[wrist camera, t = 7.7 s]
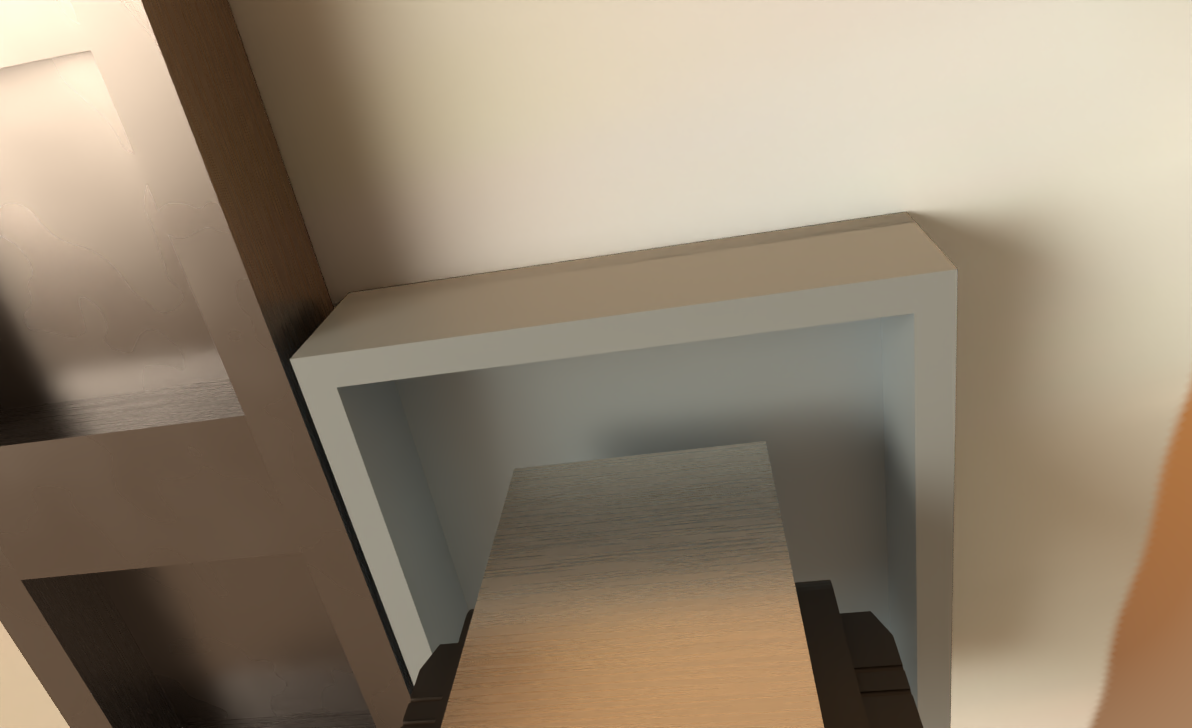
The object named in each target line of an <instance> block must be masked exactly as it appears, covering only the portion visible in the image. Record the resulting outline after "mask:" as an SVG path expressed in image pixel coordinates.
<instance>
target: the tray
mask: <svg viewBox="0 0 1192 728" xmlns="http://www.w3.org/2000/svg"><path fill="white" fill-rule="evenodd" d="M957 281H958V269H957V268H956V267H955V266H954V265H953V263H952V262H951V261H950V260H949V259H948V258H947V257H946V256H945V254H944V253H943V252H942V251H941V250H940V249H939V248H938V247H937V246H936V244H935V243H934V242H933V241H932V240H931V239H930V238H929V237H928V235H927V234H926V233H925V232H924V231H923V230H922V229H921V228H920V227H919V225H918V224H917V223H916V222H915V221H914V220H913V219H912V218H911V216H910V215H909V214H908V213H907V212H901V213H895V214H888V215H881V216H874V217H867V218H860V219H853V220H846V221H840V222H833V223H826V224H819V225H812V226H805V227H798V228H792V229H785V230H778V231H771V232H764V233H757V234H750V235H743V236H737V237H730V238H723V239H716V240H709V241H702V242H695V243H689V244H682V245H675V246H668V247H661V248H654V249H647V250H640V251H634V252H627V253H620V254H613V255H606V256H599V257H592V258H586V259H579V260H572V261H565V262H558V263H551V264H544V265H537V266H531V267H524V268H517V269H510V270H503V271H496V272H489V273H482V274H476V275H469V276H462V277H455V278H448V279H441V280H434V281H428V282H421V283H414V284H407V285H400V286H393V287H386V288H379V289H373V290H366V291H359V292H352V293H348V294H347V296H346V297H345V298H344V299H343V300H342V301H341V302H340V303H339V305H338V306H337V307H336V308H335V309H334V310H333V311H332V312H331V313H330V315H329V316H328V317H327V318H326V319H325V320H324V321H323V322H322V324H321V325H320V326H319V327H318V328H317V329H316V330H315V331H314V333H313V334H312V335H311V336H310V337H309V338H308V339H307V340H306V341H305V343H304V344H303V345H302V346H301V347H300V348H299V349H298V350H297V352H296V353H295V354H294V355H293V356H292V357H291V358H290V362H291V364H292V367H293V370H294V372H295V375H296V377H297V380H298V383H299V385H300V388H301V391H302V393H303V396H304V398H305V401H306V404H307V406H308V409H309V412H310V414H311V417H312V419H313V422H314V425H315V427H316V430H317V433H318V435H319V438H320V440H321V443H322V446H323V448H324V451H325V454H326V456H327V459H328V461H329V464H330V467H331V469H332V472H333V475H334V477H335V480H336V482H337V485H338V488H339V490H340V493H341V496H342V498H343V501H344V503H345V506H346V509H347V511H348V514H349V517H350V519H351V522H352V524H353V527H354V530H355V532H356V535H357V538H358V540H359V543H360V545H361V548H362V551H363V553H364V556H365V559H366V561H367V564H368V566H369V569H370V572H371V574H372V577H373V580H374V582H375V585H376V587H377V590H378V593H379V595H380V598H381V601H382V603H383V606H384V608H385V611H386V614H387V616H388V619H389V622H390V624H391V627H392V629H393V632H394V635H395V637H396V640H397V643H398V645H399V648H400V650H401V653H402V656H403V658H404V661H405V664H406V666H407V669H408V671H409V674H410V677H411V679H412V682H413V685H415V682H416V679H417V676H418V673H419V670H420V669H421V668H422V666H423V665H424V664H425V662H426V661H427V660H428V659H429V657H430V656H431V655H432V654H433V652H434V651H435V650H436V649H437V647H438V646H439V645H440V644H450V643H458V642H459V638H460V635H461V631H462V628H463V625H464V621H465V618H466V615H467V613H468V611H469V610H471V609H474V608H475V605H476V601H477V598H478V594H479V591H480V587H481V584H482V580H483V577H484V573H485V570H486V566H487V563H488V559H489V556H490V552H491V549H492V545H493V542H494V538H495V534H496V531H497V527H498V524H499V520H500V517H501V513H502V510H503V506H504V503H505V499H506V496H507V492H508V489H509V485H510V482H511V478H512V475H513V471H514V469H515V468H524V467H533V466H542V465H551V464H560V463H569V462H579V461H588V460H597V459H606V458H615V457H624V456H633V455H642V454H651V453H660V452H670V451H679V450H688V449H697V448H706V447H715V446H724V445H733V444H742V443H751V442H761V441H766V445H767V450H768V455H769V460H770V465H771V469H772V474H773V479H774V484H775V489H776V494H777V499H778V504H779V509H780V514H781V519H782V523H783V528H784V533H785V538H786V543H787V548H788V553H789V558H790V563H791V568H792V572H793V577H794V582H807V581H819V580H831V583H832V586H833V589H834V593H835V597H836V601H837V605H838V608H839V612H840V613H852V612H865V611H871V612H872V613H873V614H874V615H875V616H876V617H877V618H878V620H879V621H880V622H881V623H882V624H883V625H884V626H885V627H886V628H887V629H888V630H889V631H890V633H891V634H892V635H893V637H894V640H895V643H896V646H897V649H898V652H899V655H900V658H901V661H902V664H903V669H904V670H905V673H906V676H907V679H908V682H909V685H910V688H911V694H912V695H913V697H914V700H915V703H916V706H917V710H918V713H919V716H920V719H921V722H922V725H923V728H950V721H951V658H952V595H953V532H954V469H955V406H956V344H957Z"/></svg>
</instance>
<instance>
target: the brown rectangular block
mask: <svg viewBox="0 0 1192 728" xmlns="http://www.w3.org/2000/svg"><path fill="white" fill-rule="evenodd" d="M441 728H824V724H823V720H822V715H821V710H820V705H819V700H818V695H817V690H816V685H815V680H814V675H813V671H812V666H811V661H810V656H809V651H808V646H807V641H806V636H805V631H804V626H803V621H802V617H801V612H800V607H799V602H798V597H797V592H796V587H795V582H794V577H793V572H792V568H791V563H790V558H789V553H788V548H787V543H786V538H785V533H784V528H783V523H782V519H781V514H780V509H779V504H778V499H777V494H776V489H775V484H774V479H773V474H772V469H771V465H770V460H769V455H768V450H767V445H766V441H761V442H751V443H742V444H733V445H724V446H715V447H706V448H697V449H688V450H679V451H670V452H660V453H651V454H642V455H633V456H624V457H615V458H606V459H597V460H588V461H579V462H569V463H560V464H551V465H542V466H533V467H524V468H515V469H514V471H513V475H512V478H511V482H510V485H509V489H508V492H507V496H506V499H505V503H504V506H503V510H502V513H501V517H500V520H499V524H498V527H497V531H496V534H495V538H494V542H493V545H492V549H491V552H490V556H489V559H488V563H487V566H486V570H485V573H484V577H483V580H482V584H481V587H480V591H479V594H478V598H477V601H476V605H475V608H474V612H473V616H472V619H471V623H470V626H469V630H468V633H467V637H466V640H465V644H464V647H463V651H462V654H461V658H460V661H459V665H458V668H457V672H456V675H455V679H454V682H453V686H452V690H451V693H450V697H449V700H448V704H447V707H446V711H445V714H444V718H443V721H442V725H441Z"/></svg>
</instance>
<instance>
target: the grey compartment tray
mask: <svg viewBox="0 0 1192 728" xmlns="http://www.w3.org/2000/svg"><path fill="white" fill-rule="evenodd" d="M333 310H334V309H333V306H332V303H331V300H330V297H329V294H328V291H327V288H326V285H325V283H324V280H323V277H322V274H321V271H320V268H319V265H318V262H317V259H316V256H315V254H314V251H313V248H312V245H311V242H310V239H309V236H308V233H307V230H306V227H305V224H304V222H303V219H302V216H301V213H300V210H299V207H298V204H297V201H296V198H295V195H294V193H293V190H292V187H291V184H290V181H289V178H288V175H287V172H286V169H285V166H284V164H283V161H282V158H281V155H280V152H279V149H278V146H277V143H276V140H275V137H274V134H273V132H272V129H271V126H270V123H269V120H268V117H267V114H266V111H265V108H264V105H263V103H262V100H261V97H260V94H259V91H258V88H257V85H256V82H255V79H254V76H253V73H252V71H251V68H250V65H249V62H248V59H247V56H246V53H245V50H244V47H243V44H242V42H241V39H240V36H239V33H238V30H237V27H236V24H235V21H234V18H233V15H232V13H231V10H230V7H229V4H228V1H227V0H0V621H1V623H2V624H3V626H4V627H5V629H6V630H7V632H8V633H9V635H10V636H11V638H12V639H13V641H14V643H15V644H16V646H17V647H18V649H19V650H20V652H21V653H22V655H23V656H24V658H25V659H26V661H27V662H28V664H29V665H30V667H31V668H32V670H33V672H34V673H35V675H36V676H37V678H38V679H39V681H40V682H41V684H42V685H43V687H44V688H45V690H46V691H47V693H48V694H49V696H50V697H51V699H52V701H53V702H54V704H55V705H56V707H57V708H58V710H59V711H60V713H61V714H62V716H63V717H64V719H65V720H66V722H67V723H68V725H69V726H70V728H400V727H402V726H403V718H404V715H405V712H406V709H407V706H408V703H410V702H411V698H410V697H411V694H412V691H413V688H414V685H413V682H412V679H411V677H410V674H409V671H408V669H407V666H406V664H405V661H404V658H403V656H402V653H401V650H400V648H399V645H398V643H397V640H396V637H395V635H394V632H393V629H392V627H391V624H390V622H389V619H388V616H387V614H386V611H385V608H384V606H383V603H382V601H381V598H380V595H379V593H378V590H377V587H376V585H375V582H374V580H373V577H372V574H371V572H370V569H369V566H368V564H367V561H366V559H365V556H364V553H363V551H362V548H361V545H360V543H359V540H358V538H357V535H356V532H355V530H354V527H353V524H352V522H351V519H350V517H349V514H348V511H347V509H346V506H345V503H344V501H343V498H342V496H341V493H340V490H339V488H338V485H337V482H336V480H335V477H334V475H333V472H332V469H331V467H330V464H329V461H328V459H327V456H326V454H325V451H324V448H323V446H322V443H321V440H320V438H319V435H318V433H317V430H316V427H315V425H314V422H313V419H312V417H311V414H310V412H309V409H308V406H307V404H306V401H305V398H304V396H303V393H302V391H301V388H300V385H299V383H298V380H297V377H296V375H295V372H294V370H293V367H292V364H291V362H290V358H291V357H292V356H293V355H294V354H295V353H296V352H297V350H298V349H299V348H300V347H301V346H302V345H303V344H304V343H305V341H306V340H307V339H308V338H309V337H310V336H311V335H312V334H313V333H314V331H315V330H316V329H317V328H318V327H319V326H320V325H321V324H322V322H323V321H324V320H325V319H326V318H327V317H328V316H329V315H330V313H331V312H332V311H333Z"/></svg>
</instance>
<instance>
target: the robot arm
mask: <svg viewBox="0 0 1192 728" xmlns="http://www.w3.org/2000/svg"><path fill="white" fill-rule="evenodd" d="M795 587H796V592H797V597H798V602H799V607H800V612H801V617H802V621H803V626H804V631H805V636H806V641H807V646H808V651H809V656H810V661H811V666H812V671H813V675H814V680H815V685H816V690H817V695H818V700H819V705H820V710H821V715H822V720H823V724H824V728H923V725H922V722H921V719H920V716H919V713H918V710H917V706H916V703H915V700H914V697H913V695H912V694H911V688H910V685H909V682H908V679H907V676H906V673H905V670H904V669H903V664H902V661H901V658H900V655H899V652H898V649H897V646H896V643H895V640H894V637H893V635H892V634H891V633H890V631H889V630H888V629H887V628H886V627H885V626H884V625H883V624H882V623H881V622H880V621H879V620H878V618H877V617H876V616H875V615H874V614H873V613H872V612H871V611H865V612H852V613H840V612H839V608H838V605H837V601H836V597H835V593H834V589H833V586H832V583H831V580H819V581H807V582H795ZM473 612H474V609H471V610H469V611H468V613H467V615H466V618H465V621H464V625H463V628H462V631H461V635H460V638H459V642H458V643H450V644H440V645H439V646H438V647H437V649H436V650H435V651H434V652H433V654H432V655H431V656H430V657H429V659H428V660H427V661H426V662H425V664H424V665H423V666H422V668H421V669H420V670H419V673H418V676H417V679H416V682H415V685H414V688H413V691H412V694H411V697H410V698H411V702H410V703H408V706H407V709H406V712H405V715H404V718H403V726H402V727H400V728H441V725H442V721H443V718H444V714H445V711H446V707H447V704H448V700H449V697H450V693H451V690H452V686H453V682H454V679H455V675H456V672H457V668H458V665H459V661H460V658H461V654H462V651H463V647H464V644H465V640H466V637H467V633H468V630H469V626H470V623H471V619H472V616H473Z"/></svg>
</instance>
